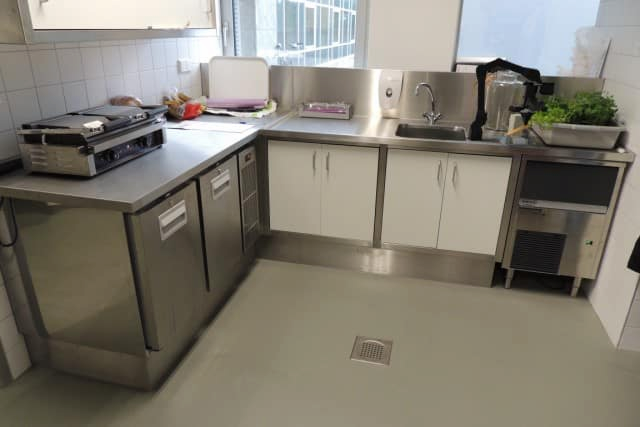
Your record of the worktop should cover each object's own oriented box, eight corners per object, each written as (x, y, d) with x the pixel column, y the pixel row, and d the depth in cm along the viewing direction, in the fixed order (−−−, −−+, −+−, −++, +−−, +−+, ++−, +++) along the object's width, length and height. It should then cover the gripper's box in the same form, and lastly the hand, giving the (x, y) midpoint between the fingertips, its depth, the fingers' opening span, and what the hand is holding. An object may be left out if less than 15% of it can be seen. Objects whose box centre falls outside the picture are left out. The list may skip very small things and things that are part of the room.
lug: (528, 145, 241) (530, 136, 239) (526, 144, 243) (527, 135, 241) (532, 145, 241) (534, 136, 239) (529, 144, 244) (531, 135, 242)
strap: (506, 137, 241) (505, 135, 241) (503, 136, 244) (502, 134, 243) (530, 126, 241) (529, 124, 240) (527, 125, 243) (526, 123, 243)
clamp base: (507, 146, 239) (509, 136, 237) (497, 141, 249) (498, 131, 247) (536, 145, 241) (538, 135, 239) (525, 141, 251) (527, 130, 249)
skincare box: (511, 137, 259) (515, 115, 254) (506, 135, 263) (510, 114, 258) (521, 137, 260) (525, 115, 256) (516, 135, 264) (520, 113, 260)
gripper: (521, 97, 227) (516, 128, 233) (557, 96, 230) (550, 128, 235) (510, 94, 237) (505, 124, 243) (544, 93, 240) (538, 123, 246)
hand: (525, 125), depth 242 cm, fingers closed
